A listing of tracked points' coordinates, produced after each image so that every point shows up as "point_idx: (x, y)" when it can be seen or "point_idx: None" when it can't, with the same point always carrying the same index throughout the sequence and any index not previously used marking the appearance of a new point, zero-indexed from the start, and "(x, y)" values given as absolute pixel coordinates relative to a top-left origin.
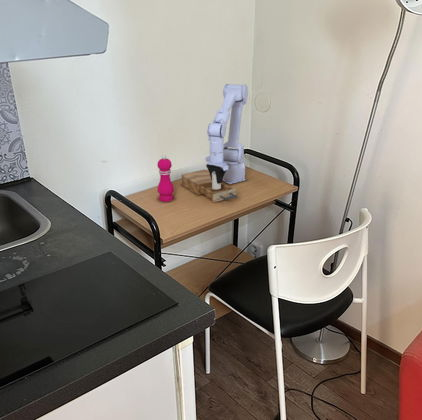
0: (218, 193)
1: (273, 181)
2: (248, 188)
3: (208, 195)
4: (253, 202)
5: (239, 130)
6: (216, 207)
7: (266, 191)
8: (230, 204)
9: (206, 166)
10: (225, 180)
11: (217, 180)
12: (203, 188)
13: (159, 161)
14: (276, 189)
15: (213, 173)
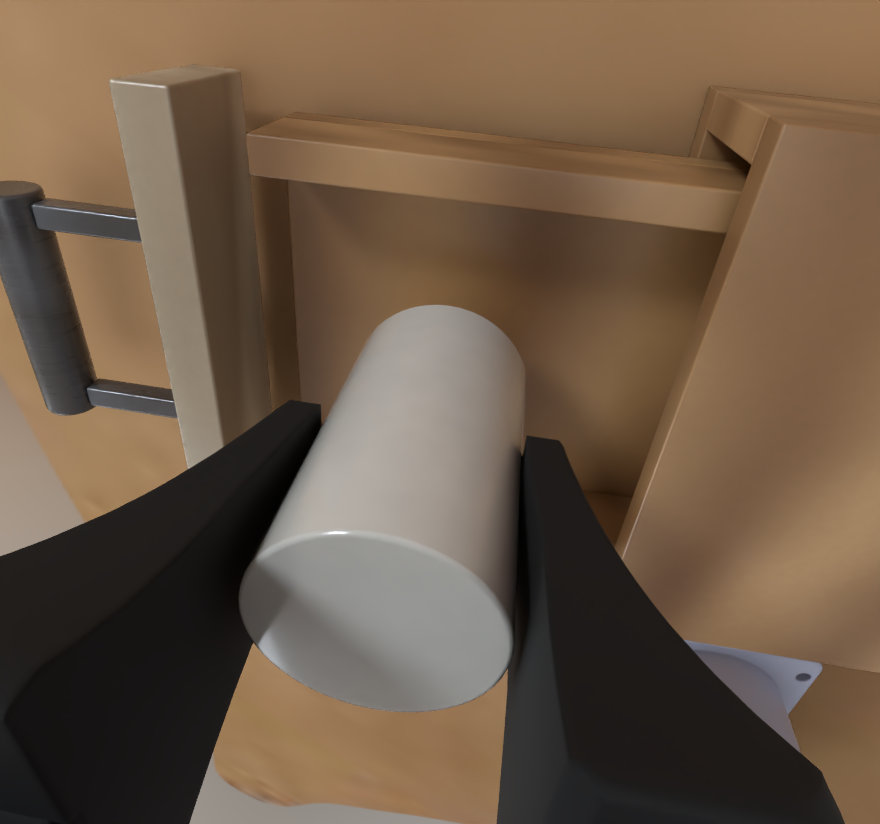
0: (156, 220)
1: (395, 797)
2: None
3: (406, 129)
4: (80, 477)
5: None
6: (81, 10)
7: (258, 677)
8: (114, 266)
9: (789, 755)
10: (711, 656)
11: (243, 433)
12: (601, 172)
13: None
14: (255, 727)
15: (373, 560)
